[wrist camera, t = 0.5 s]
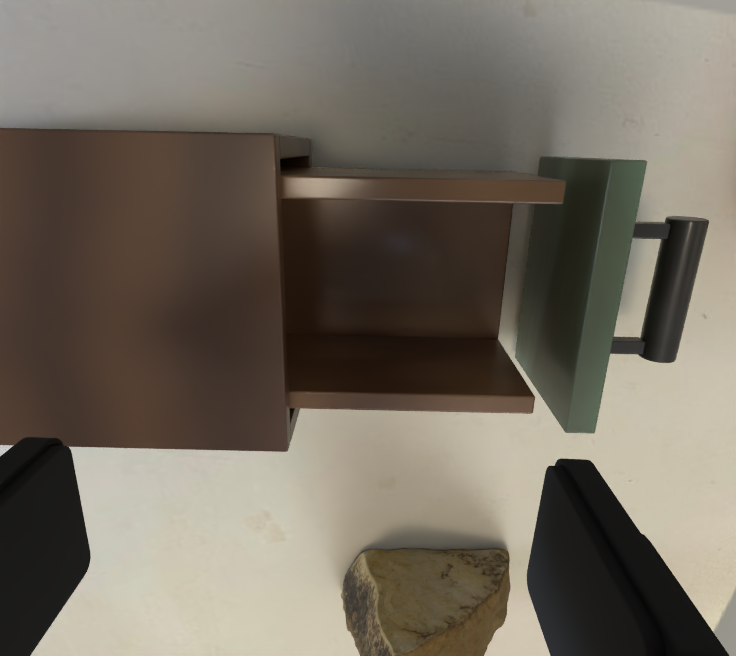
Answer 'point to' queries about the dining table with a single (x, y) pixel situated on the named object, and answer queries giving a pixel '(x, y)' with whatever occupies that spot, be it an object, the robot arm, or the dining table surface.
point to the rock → (426, 601)
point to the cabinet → (144, 288)
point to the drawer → (471, 286)
